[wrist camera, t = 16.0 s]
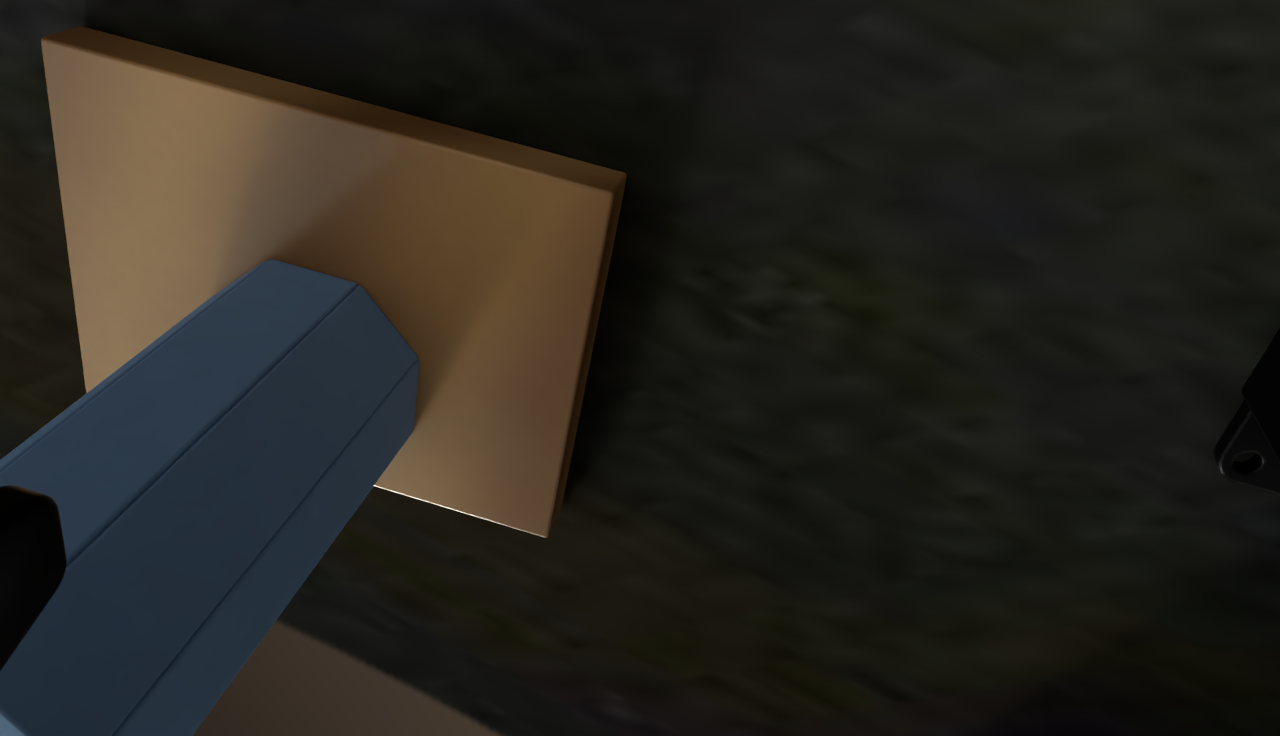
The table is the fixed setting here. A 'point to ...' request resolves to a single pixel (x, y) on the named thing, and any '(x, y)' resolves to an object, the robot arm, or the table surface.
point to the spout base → (343, 247)
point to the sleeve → (202, 499)
